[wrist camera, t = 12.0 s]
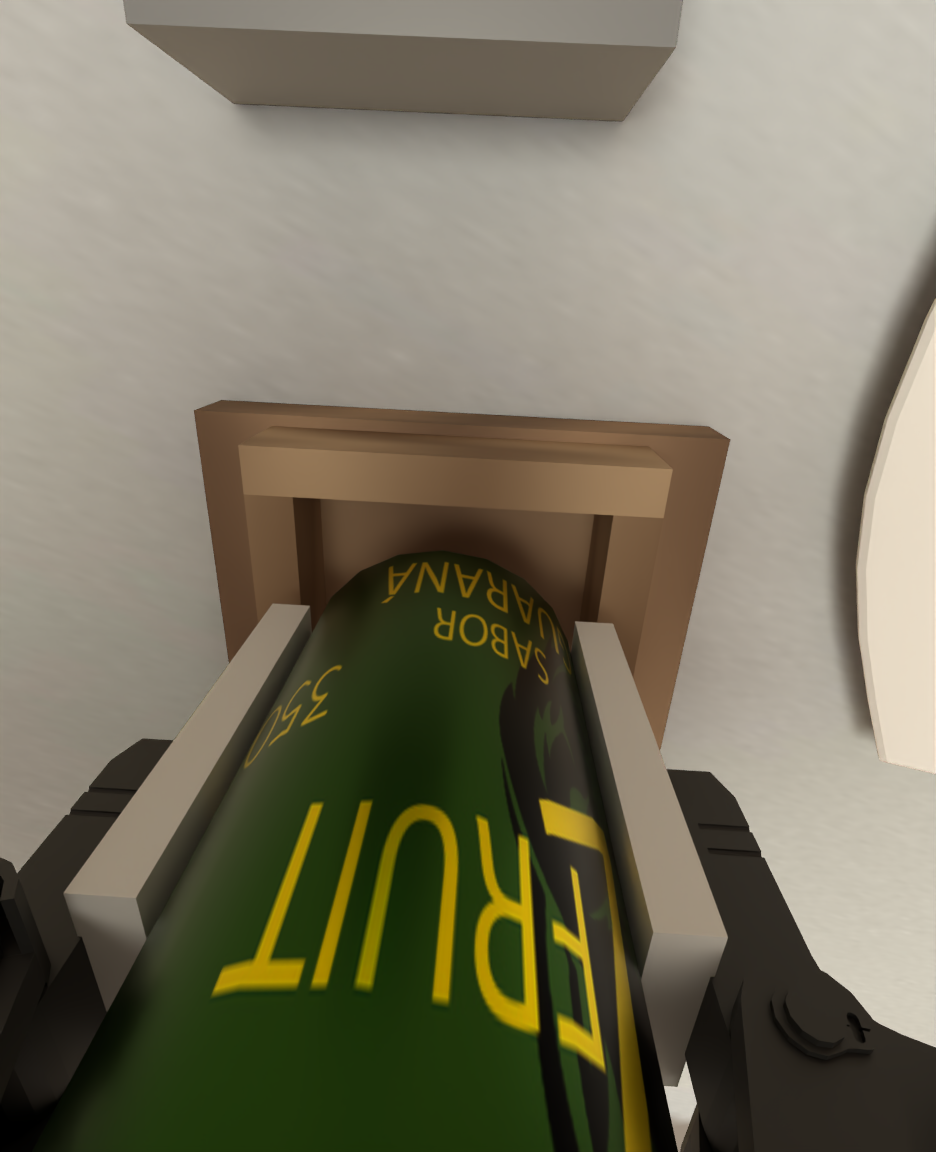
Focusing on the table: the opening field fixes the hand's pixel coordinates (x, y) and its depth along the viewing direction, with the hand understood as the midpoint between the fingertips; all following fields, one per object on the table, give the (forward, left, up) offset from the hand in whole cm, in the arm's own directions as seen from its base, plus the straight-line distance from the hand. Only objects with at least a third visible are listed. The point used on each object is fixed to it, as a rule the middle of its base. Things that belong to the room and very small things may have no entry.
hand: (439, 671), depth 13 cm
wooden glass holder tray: (0, -6, -5) cm, 8 cm away
